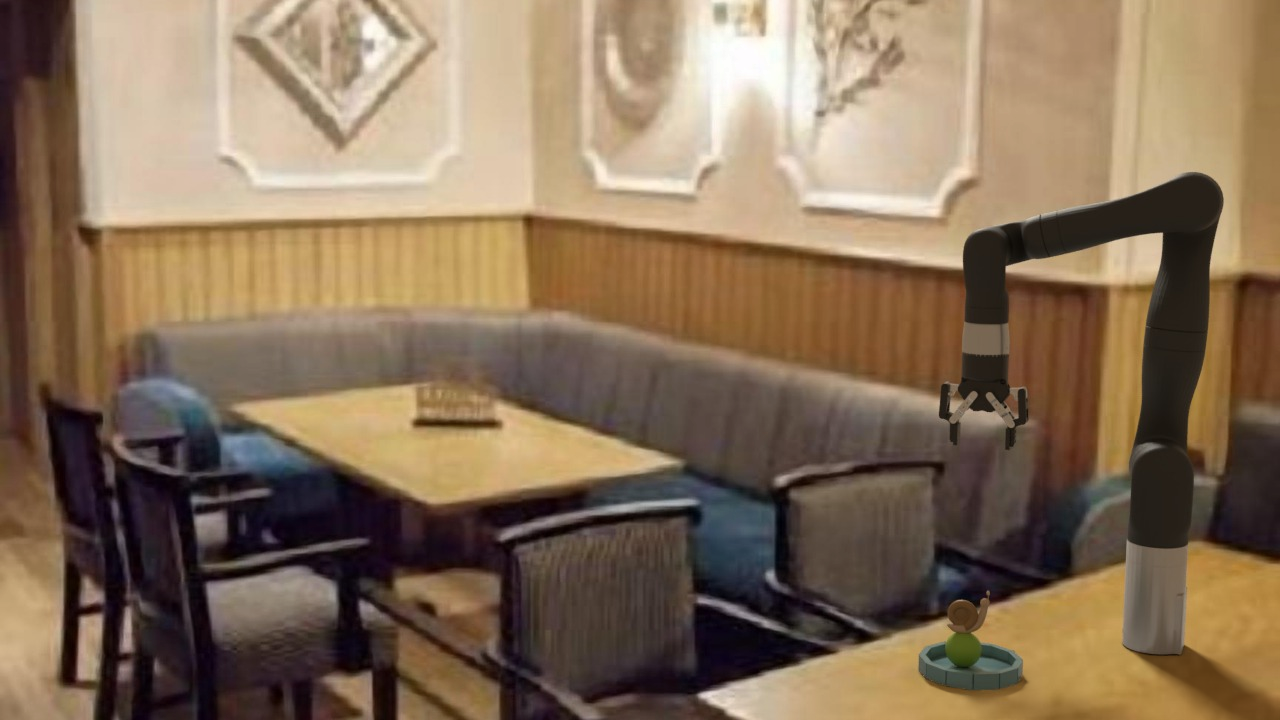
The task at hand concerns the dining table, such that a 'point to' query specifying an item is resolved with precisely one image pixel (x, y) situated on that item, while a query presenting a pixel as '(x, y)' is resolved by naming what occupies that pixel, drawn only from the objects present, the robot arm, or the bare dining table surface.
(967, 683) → the dish
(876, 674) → the dining table surface
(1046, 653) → the dining table surface
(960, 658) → the snail figurine
